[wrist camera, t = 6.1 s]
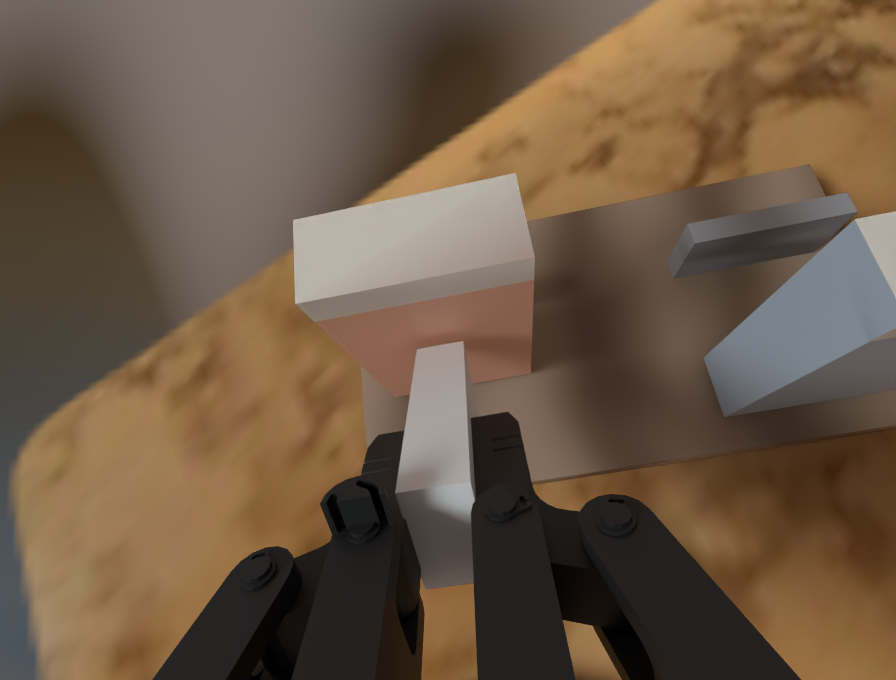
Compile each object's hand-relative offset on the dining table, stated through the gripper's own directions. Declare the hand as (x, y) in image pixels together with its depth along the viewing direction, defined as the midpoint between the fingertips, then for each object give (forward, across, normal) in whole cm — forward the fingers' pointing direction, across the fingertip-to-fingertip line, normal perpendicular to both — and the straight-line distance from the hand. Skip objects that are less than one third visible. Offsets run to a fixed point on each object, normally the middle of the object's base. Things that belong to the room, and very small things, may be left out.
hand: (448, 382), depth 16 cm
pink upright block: (+6, 0, -2) cm, 6 cm away
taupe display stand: (+8, +6, -3) cm, 10 cm away
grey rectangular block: (+3, +13, -4) cm, 14 cm away
